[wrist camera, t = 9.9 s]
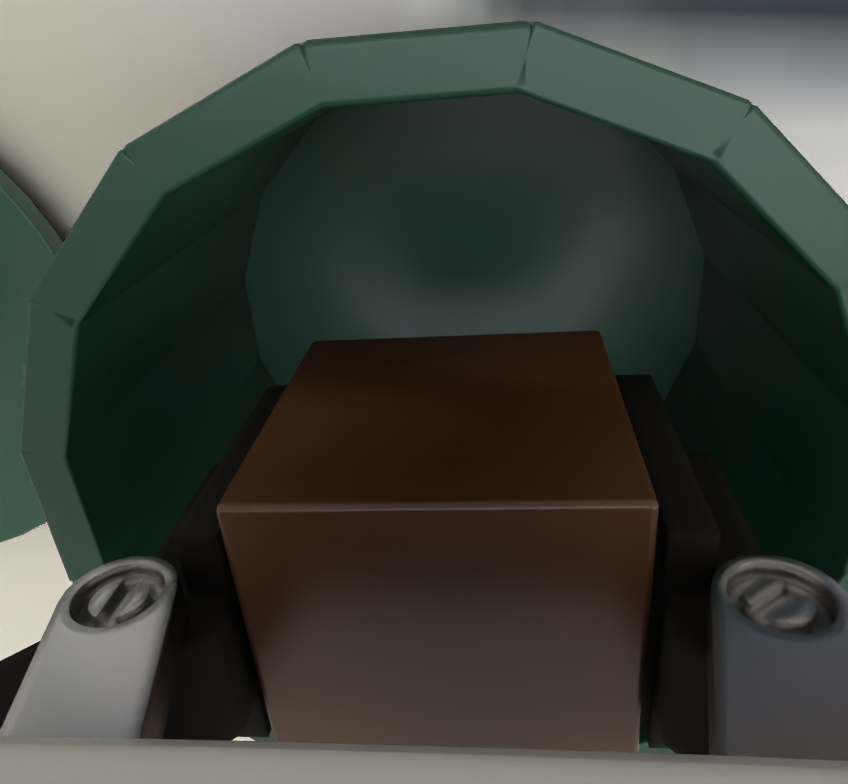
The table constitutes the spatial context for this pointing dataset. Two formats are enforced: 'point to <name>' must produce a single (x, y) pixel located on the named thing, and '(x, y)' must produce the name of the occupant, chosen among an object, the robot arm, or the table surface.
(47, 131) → the table surface
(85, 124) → the table surface
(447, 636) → the block
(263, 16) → the table surface
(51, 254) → the lid
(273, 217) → the tin
